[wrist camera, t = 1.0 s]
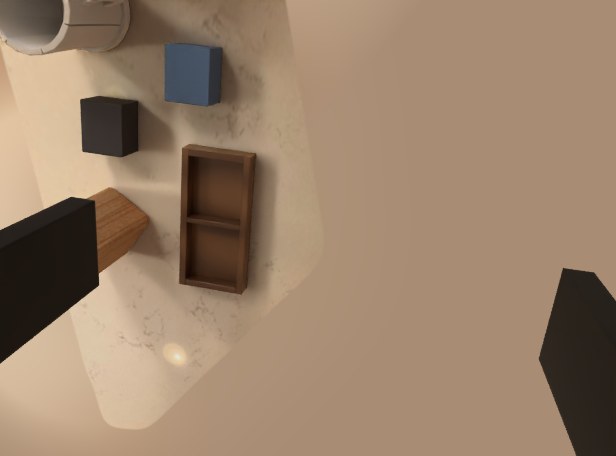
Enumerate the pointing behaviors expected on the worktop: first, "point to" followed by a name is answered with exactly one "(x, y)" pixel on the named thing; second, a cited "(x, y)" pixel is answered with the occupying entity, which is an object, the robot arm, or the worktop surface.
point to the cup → (63, 25)
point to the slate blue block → (192, 74)
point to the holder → (216, 217)
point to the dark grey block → (109, 126)
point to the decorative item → (116, 226)
